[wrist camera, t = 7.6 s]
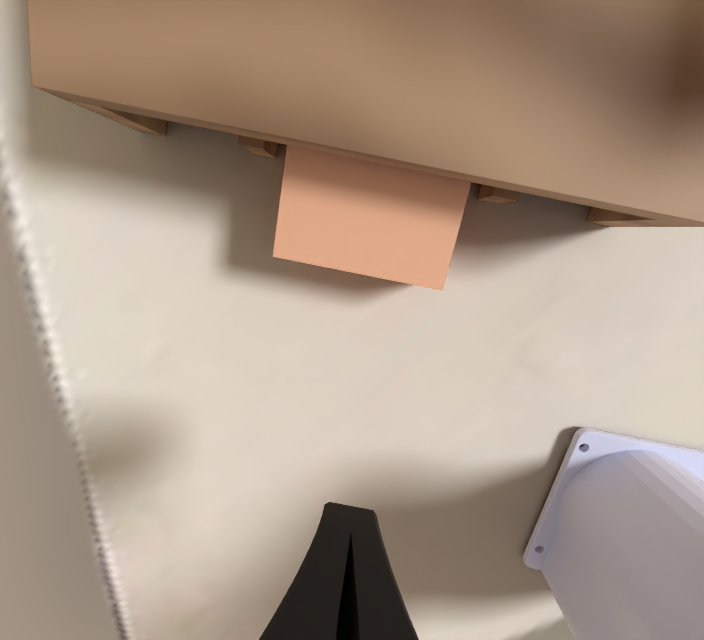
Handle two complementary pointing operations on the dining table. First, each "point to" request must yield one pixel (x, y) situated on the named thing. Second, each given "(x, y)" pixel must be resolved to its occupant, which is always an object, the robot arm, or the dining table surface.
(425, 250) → the cover
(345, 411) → the dining table surface
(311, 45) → the wooden stand
